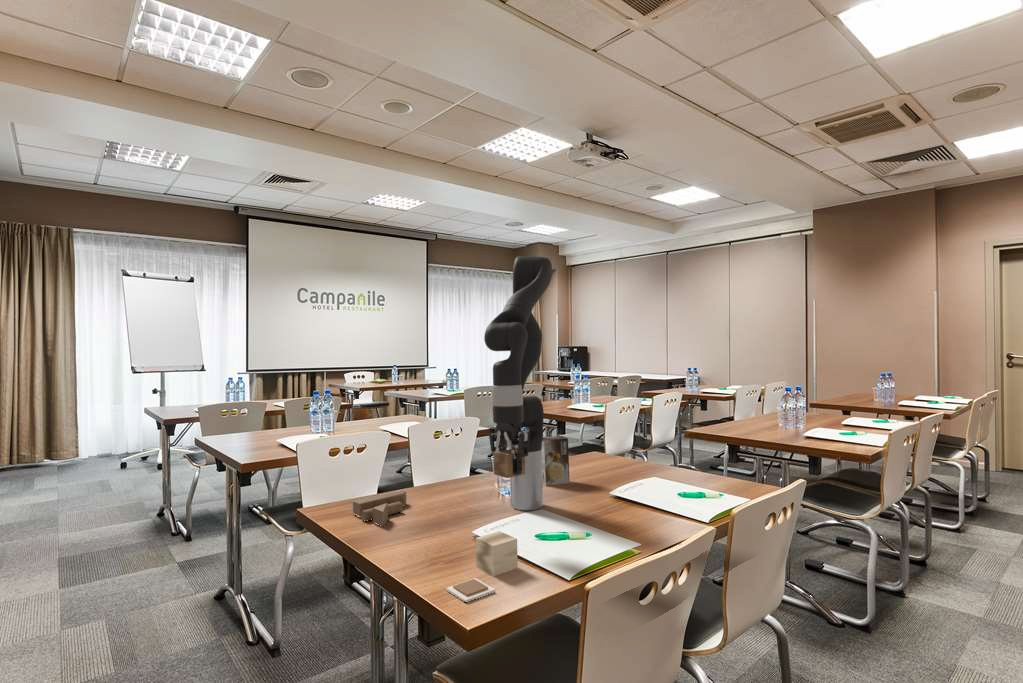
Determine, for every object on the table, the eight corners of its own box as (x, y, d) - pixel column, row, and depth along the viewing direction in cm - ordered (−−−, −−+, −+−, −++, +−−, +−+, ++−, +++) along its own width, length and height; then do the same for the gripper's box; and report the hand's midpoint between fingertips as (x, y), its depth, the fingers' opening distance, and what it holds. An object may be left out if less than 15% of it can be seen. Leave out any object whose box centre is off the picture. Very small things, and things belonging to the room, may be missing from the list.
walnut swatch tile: (446, 590, 107) (446, 585, 107) (475, 580, 111) (475, 575, 111) (465, 603, 102) (465, 598, 102) (495, 592, 106) (495, 587, 106)
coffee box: (563, 479, 194) (562, 435, 194) (570, 484, 188) (569, 438, 188) (539, 482, 192) (538, 437, 192) (545, 486, 186) (544, 439, 186)
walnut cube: (493, 474, 132) (493, 451, 133) (511, 470, 136) (510, 448, 136) (507, 478, 128) (507, 454, 128) (525, 474, 132) (524, 451, 132)
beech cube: (476, 567, 119) (475, 537, 119) (499, 559, 123) (499, 531, 123) (493, 576, 113) (493, 545, 114) (517, 568, 117) (517, 538, 118)
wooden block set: (349, 498, 158) (402, 486, 170) (349, 517, 157) (402, 504, 170) (379, 509, 145) (433, 495, 158) (379, 530, 145) (434, 514, 158)
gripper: (538, 404, 129) (540, 474, 129) (502, 400, 140) (503, 465, 140) (514, 406, 124) (516, 479, 124) (478, 402, 136) (480, 470, 135)
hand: (509, 471), depth 132 cm, fingers closed on walnut cube, 5 cm apart
